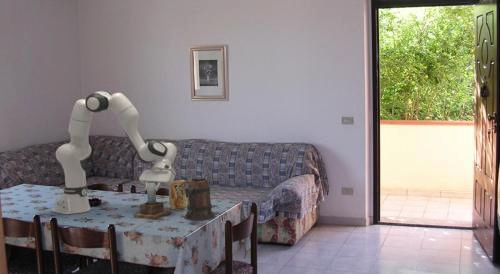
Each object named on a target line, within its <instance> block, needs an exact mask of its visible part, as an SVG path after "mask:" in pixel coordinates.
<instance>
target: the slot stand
mask: <svg viewBox="0 0 500 274" xmlns="http://www.w3.org/2000/svg"><path fill="white" fill-rule="evenodd" d="M168 215H171V210H166V209H165V207H164V202H162V201H156V204H151V205H150V204H148V201H146V202H144V203H140V204H139V212H136V213H134V214H133V218H137V219H145V220H147V219H148V220H157V219H160V218H163V217H165V216H168Z"/></svg>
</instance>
